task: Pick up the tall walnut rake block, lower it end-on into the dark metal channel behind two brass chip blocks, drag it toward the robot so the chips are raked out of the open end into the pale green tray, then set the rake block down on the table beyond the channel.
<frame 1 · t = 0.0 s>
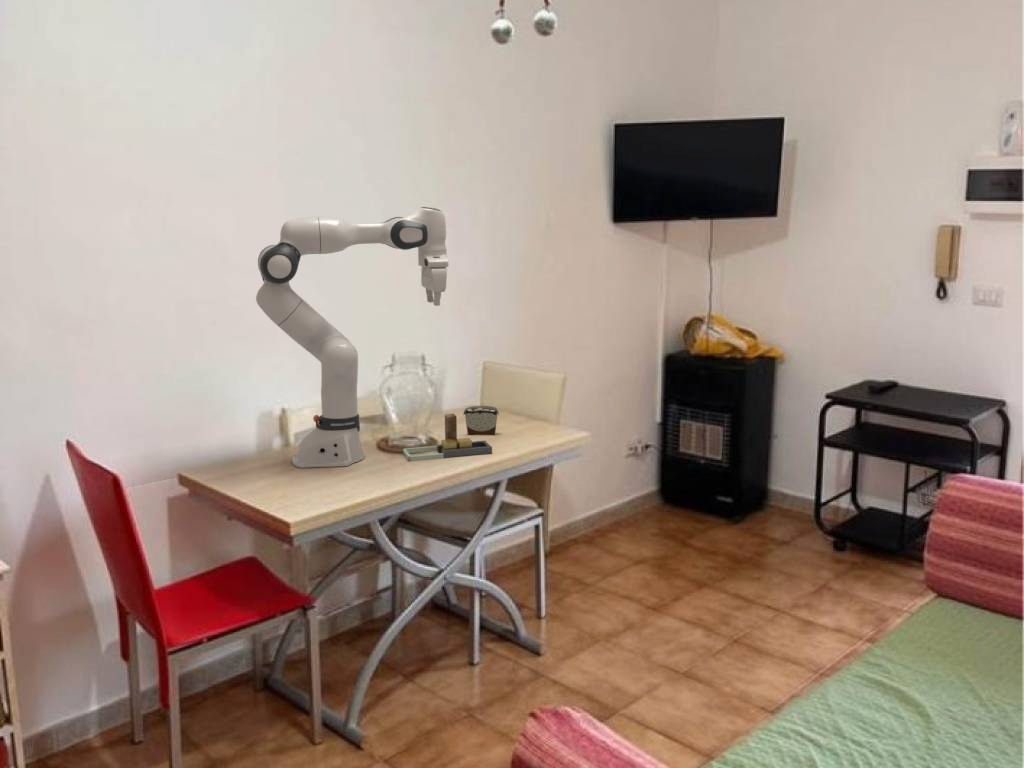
hand: (433, 303, 294), 48 cm above the table, fingers open, 8 cm apart
slot rail: (464, 454, 298), on the table
chip a: (449, 453, 296), point 1 cm above the table, touching slot rail
rake block: (451, 447, 307), on the table
chip b: (464, 451, 298), point 1 cm above the table, touching slot rail
food container: (482, 436, 322), on the table
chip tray: (423, 458, 294), on the table
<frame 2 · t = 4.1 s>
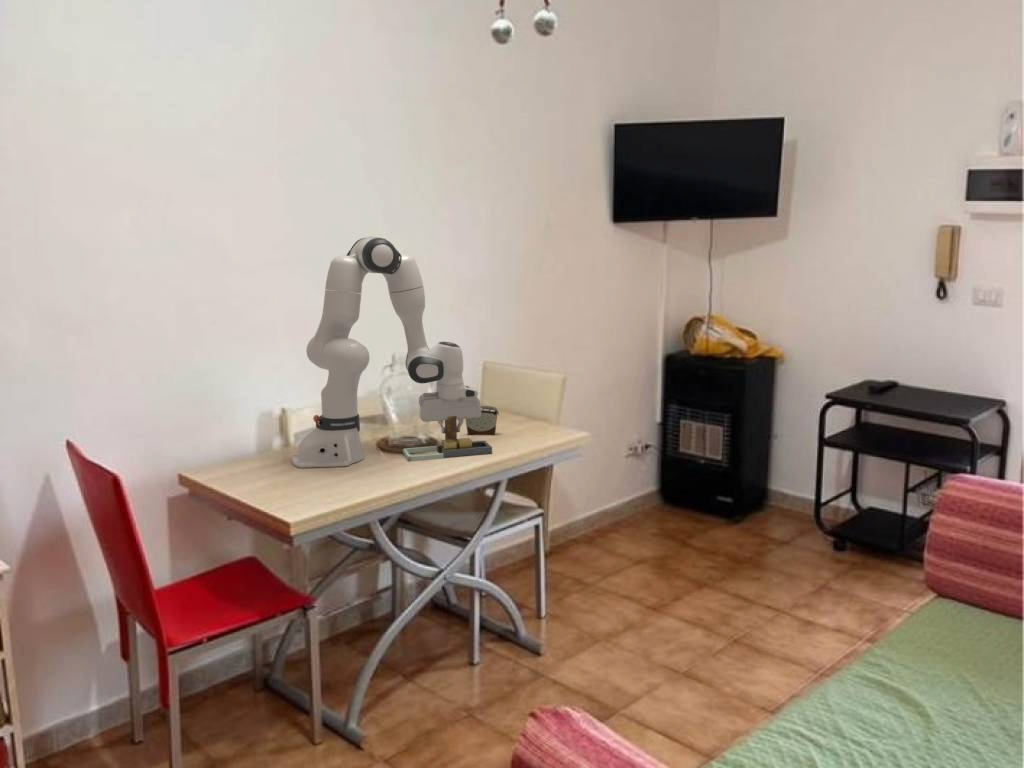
hand: (450, 432, 306), 5 cm above the table, fingers closed on rake block, 3 cm apart
rake block: (451, 447, 307), on the table, touching gripper
everything else where it was.
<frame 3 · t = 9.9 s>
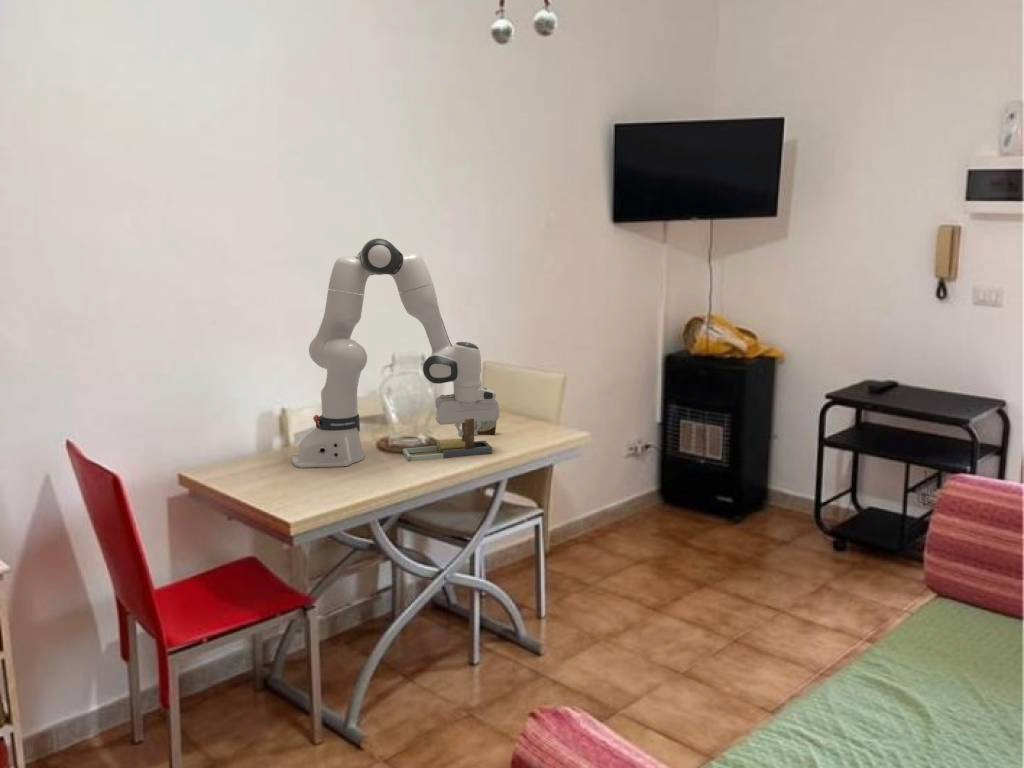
hand: (468, 435, 297), 6 cm above the table, fingers closed on rake block, 3 cm apart
chip a: (445, 453, 296), point 1 cm above the table, touching slot rail
rake block: (468, 451, 298), point 1 cm above the table, touching chip b, gripper
chip b: (457, 452, 297), point 1 cm above the table, touching rake block, slot rail
everything else where it was.
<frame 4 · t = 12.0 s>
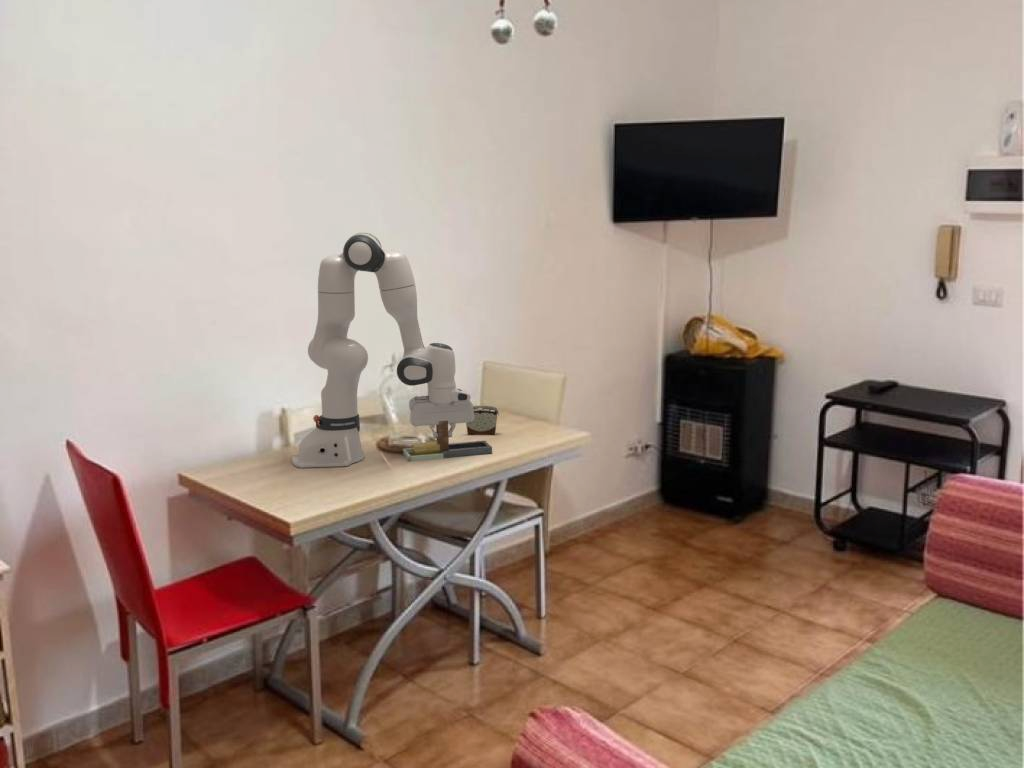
hand: (442, 437, 295), 6 cm above the table, fingers closed on rake block, 3 cm apart
chip a: (419, 457, 294), point 1 cm above the table, touching chip b, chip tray
rake block: (443, 453, 296), point 1 cm above the table, touching chip b, gripper
chip b: (432, 455, 295), point 1 cm above the table, touching chip a, rake block
everything else where it was.
when the fingers open (7 cm above the table, at t = 17.0 s): rake block drops 1 cm, on the table.
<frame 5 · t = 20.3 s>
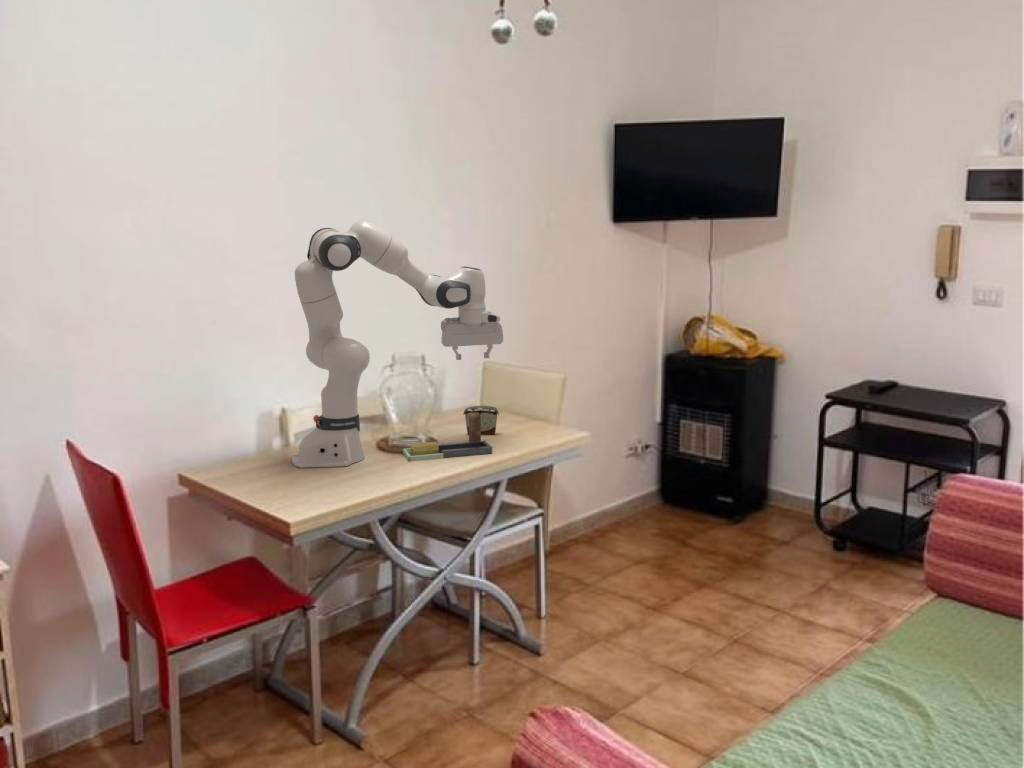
hand: (472, 358, 304), 29 cm above the table, fingers open, 8 cm apart
chip a: (418, 457, 294), point 1 cm above the table, touching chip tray
rake block: (474, 446, 308), on the table
chip b: (431, 455, 295), point 1 cm above the table, touching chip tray
everything else where it was.
at the end: chip b inside the target area on the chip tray (2.2 cm from its centre), point 0.6 cm above the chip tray's base; chip a inside the target area on the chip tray (1.9 cm from its centre), point 0.6 cm above the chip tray's base; rake block inside the target area (0.2 cm from its centre), on the table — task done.
